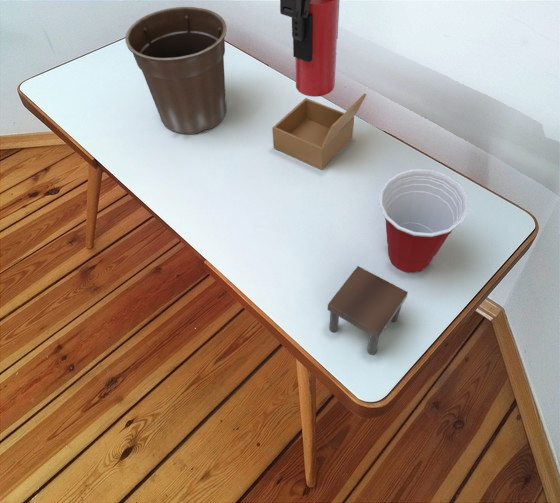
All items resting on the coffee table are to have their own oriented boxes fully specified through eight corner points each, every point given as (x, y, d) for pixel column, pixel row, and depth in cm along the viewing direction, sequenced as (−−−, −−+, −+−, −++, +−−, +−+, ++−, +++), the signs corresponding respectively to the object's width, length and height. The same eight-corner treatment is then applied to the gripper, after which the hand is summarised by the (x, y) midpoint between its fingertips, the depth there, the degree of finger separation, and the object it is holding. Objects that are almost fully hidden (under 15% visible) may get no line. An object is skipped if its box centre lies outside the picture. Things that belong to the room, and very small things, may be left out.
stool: (400, 317, 67) (408, 292, 62) (373, 358, 63) (379, 334, 59) (354, 292, 70) (357, 265, 65) (325, 329, 66) (327, 304, 61)
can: (342, 82, 80) (347, -11, 69) (320, 101, 77) (323, 8, 66) (309, 70, 82) (310, -21, 71) (288, 88, 79) (285, -4, 69)
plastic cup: (353, 260, 73) (361, 201, 63) (398, 217, 78) (411, 156, 68) (419, 303, 68) (438, 246, 59) (462, 255, 73) (486, 195, 63)
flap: (353, 113, 85) (355, 114, 85) (321, 145, 81) (323, 146, 81) (364, 93, 81) (366, 94, 81) (331, 125, 77) (333, 127, 77)
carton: (352, 137, 89) (354, 116, 86) (321, 170, 85) (322, 149, 81) (305, 118, 93) (305, 97, 90) (273, 148, 88) (272, 127, 85)
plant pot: (136, 139, 91) (109, 55, 79) (163, 86, 101) (143, 4, 88) (225, 146, 89) (213, 61, 77) (244, 91, 99) (235, 8, 86)
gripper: (336, -174, 63) (329, 13, 81) (238, -130, 54) (255, 70, 72) (390, -166, 60) (371, 26, 78) (297, -118, 51) (299, 87, 69)
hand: (315, 47), depth 75 cm, fingers closed on can, 6 cm apart
